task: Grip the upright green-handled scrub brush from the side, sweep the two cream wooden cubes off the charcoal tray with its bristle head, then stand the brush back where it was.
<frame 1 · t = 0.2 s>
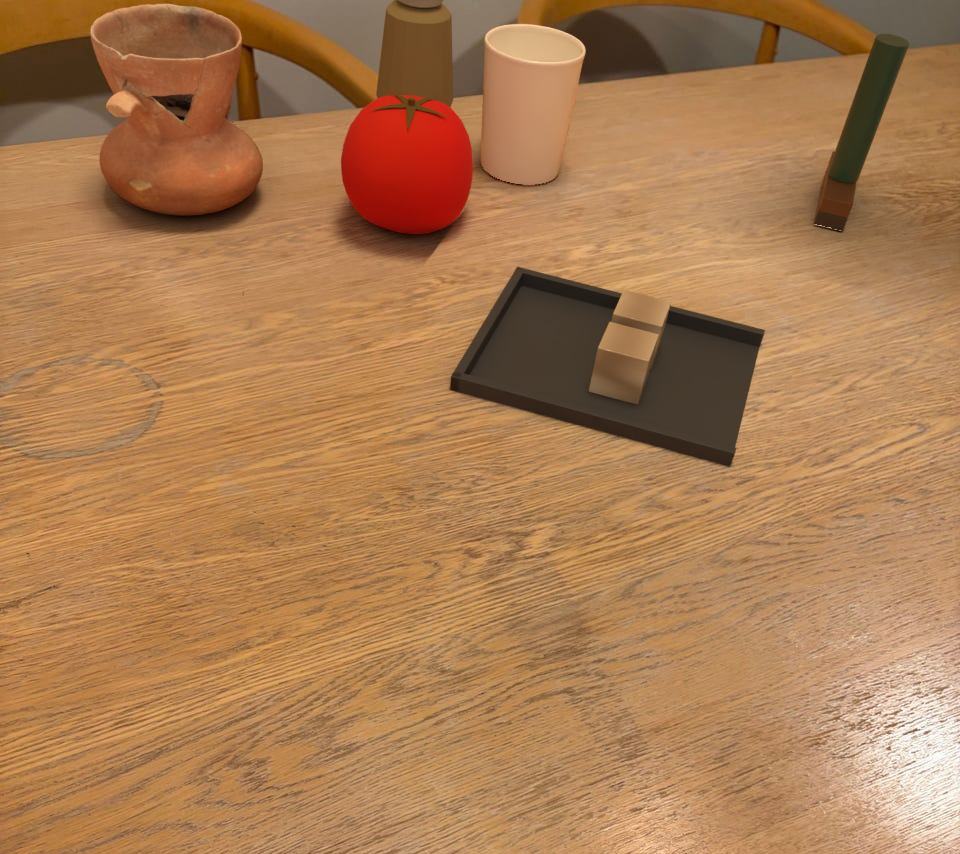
tomato: (405, 223, 97), on the table
tray: (610, 376, 84), on the table
cube a: (632, 350, 84), point 1 cm above the table, touching tray
cube b: (618, 384, 81), point 1 cm above the table, touching tray
pink cup: (519, 169, 107), on the table
squeeze bottle: (413, 134, 110), on the table
ceramic jug: (189, 194, 97), on the table
brush: (832, 204, 109), on the table
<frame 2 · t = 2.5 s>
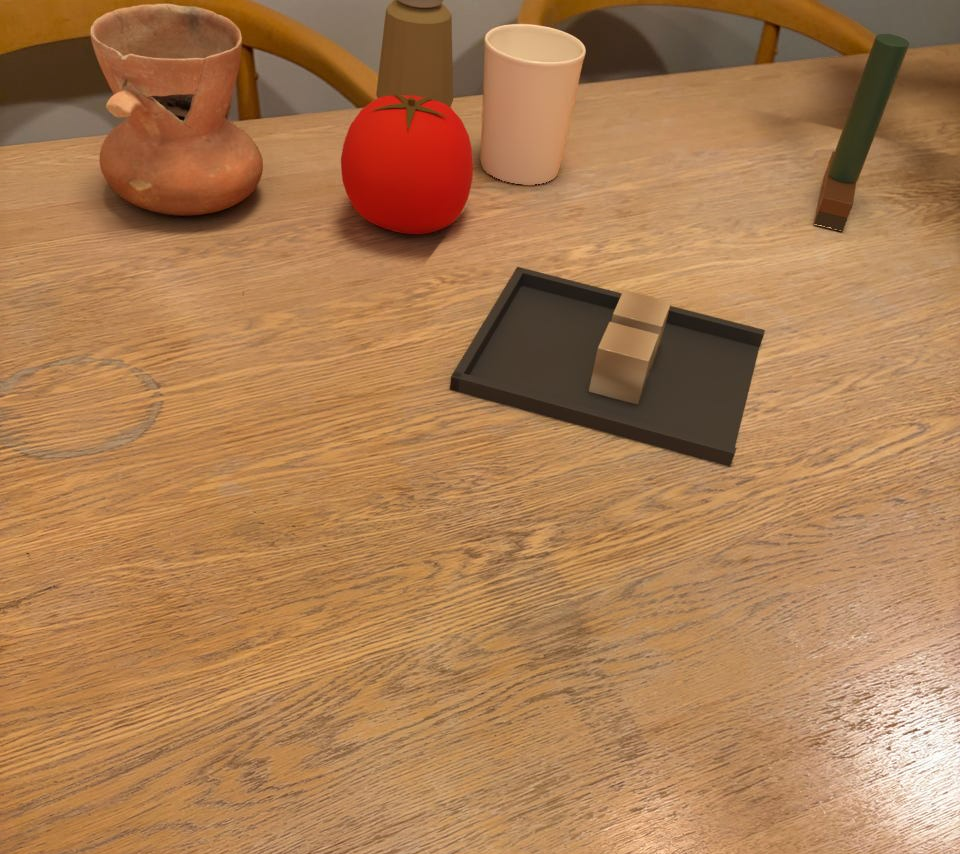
nothing on the table moved.
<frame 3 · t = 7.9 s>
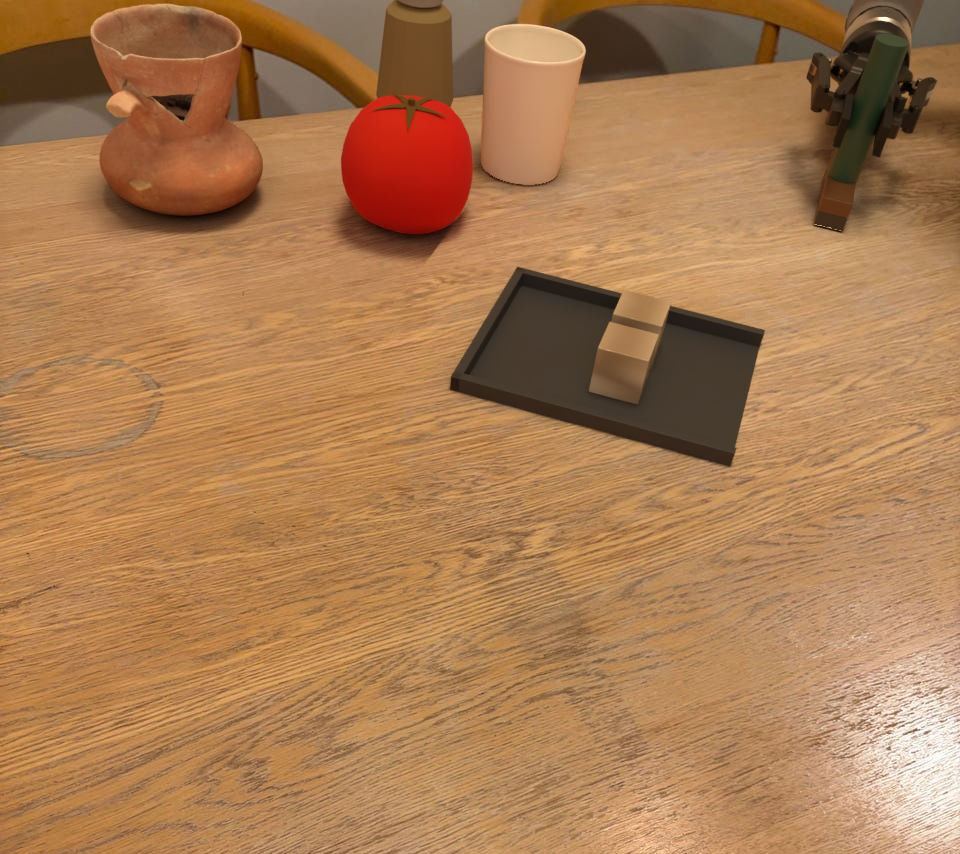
hand: (861, 137, 98), 9 cm above the table, tool horizontal, fingers closed on brush, 3 cm apart
brush: (832, 204, 109), on the table, touching gripper
everything else where it was.
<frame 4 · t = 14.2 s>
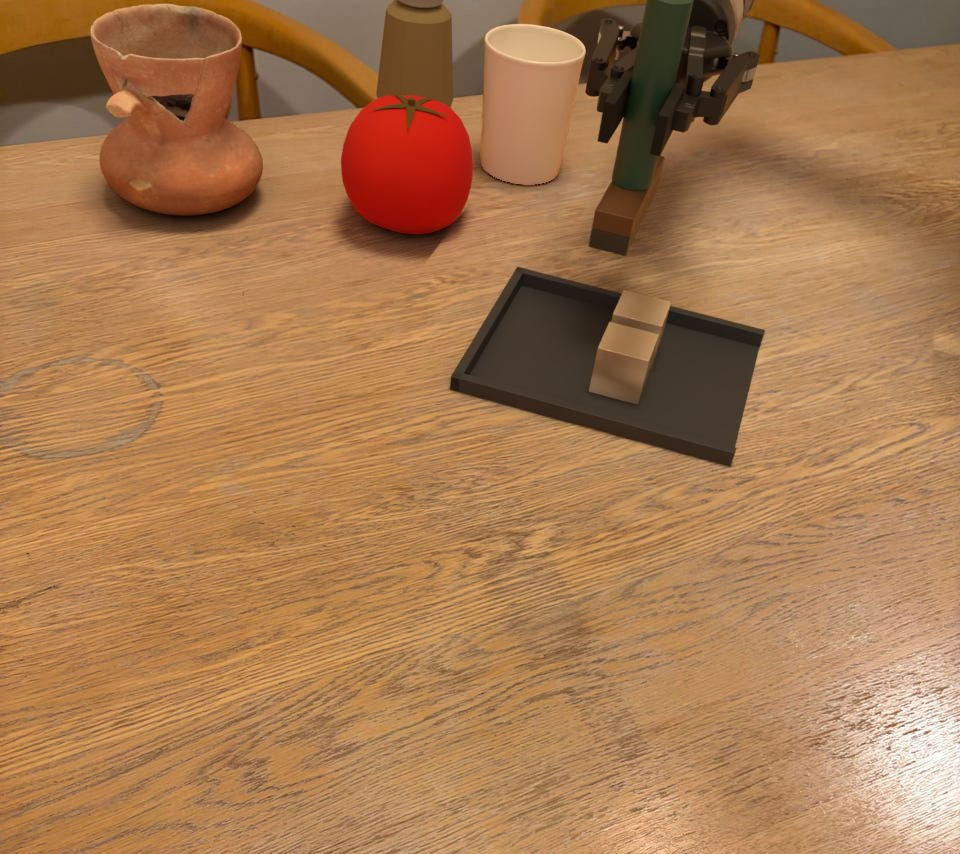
hand: (632, 129, 72), 18 cm above the table, tool horizontal, fingers closed on brush, 3 cm apart
brush: (624, 218, 83), point 9 cm above the table, touching gripper
everything else where it was.
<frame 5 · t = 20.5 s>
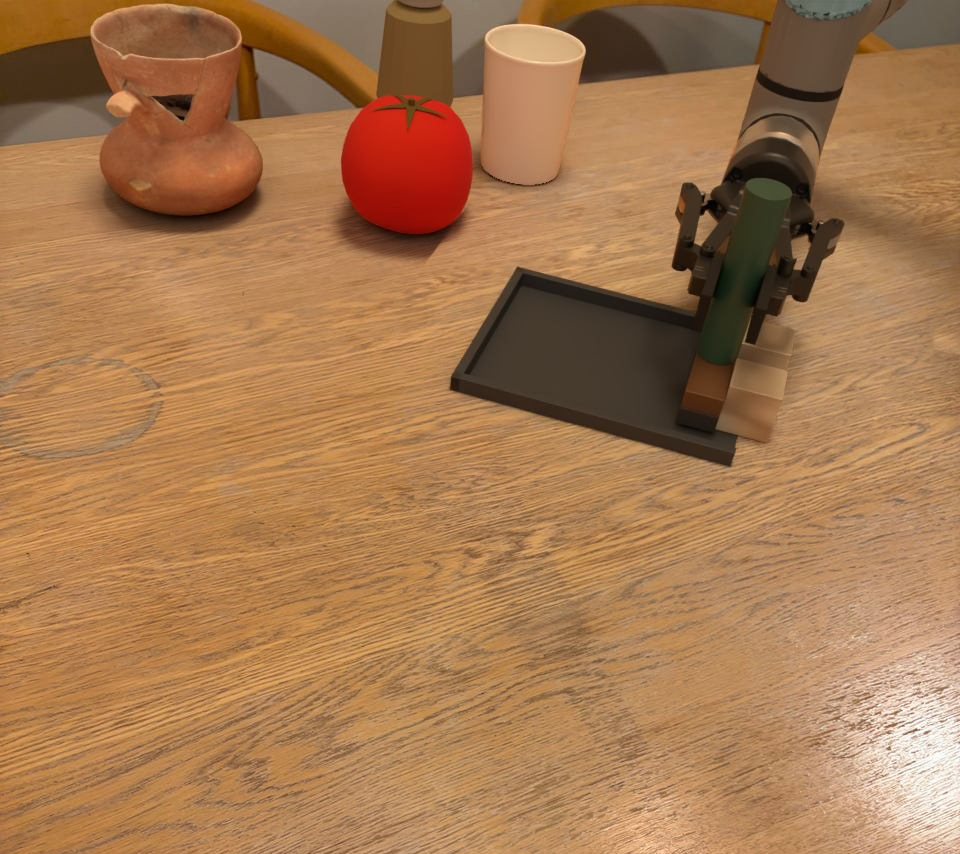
hand: (728, 319, 71), 11 cm above the table, tool horizontal, fingers closed on brush, 3 cm apart
cube a: (753, 379, 83), point 1 cm above the table, touching tray
cube b: (743, 421, 79), point 1 cm above the table, touching brush, tray
brush: (706, 385, 82), point 1 cm above the table, touching cube b, gripper
everything else where it was.
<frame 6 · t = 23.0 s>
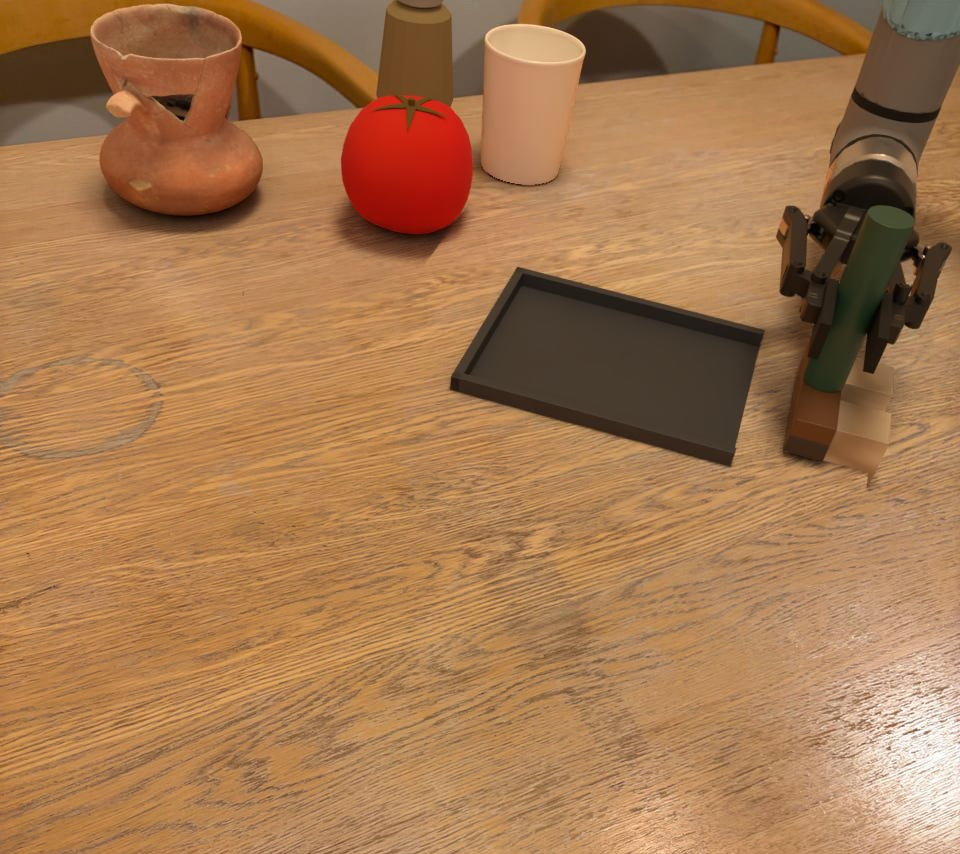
hand: (847, 348, 70), 11 cm above the table, tool horizontal, fingers closed on brush, 3 cm apart
cube a: (849, 415, 83), on the table, touching brush
cube b: (844, 463, 79), on the table, touching brush
brush: (809, 412, 80), point 2 cm above the table, touching cube a, cube b, gripper
everything else where it was.
when the fingers open (9 cm above the table, at t = 32.2 s): brush stays where it is, on the table.
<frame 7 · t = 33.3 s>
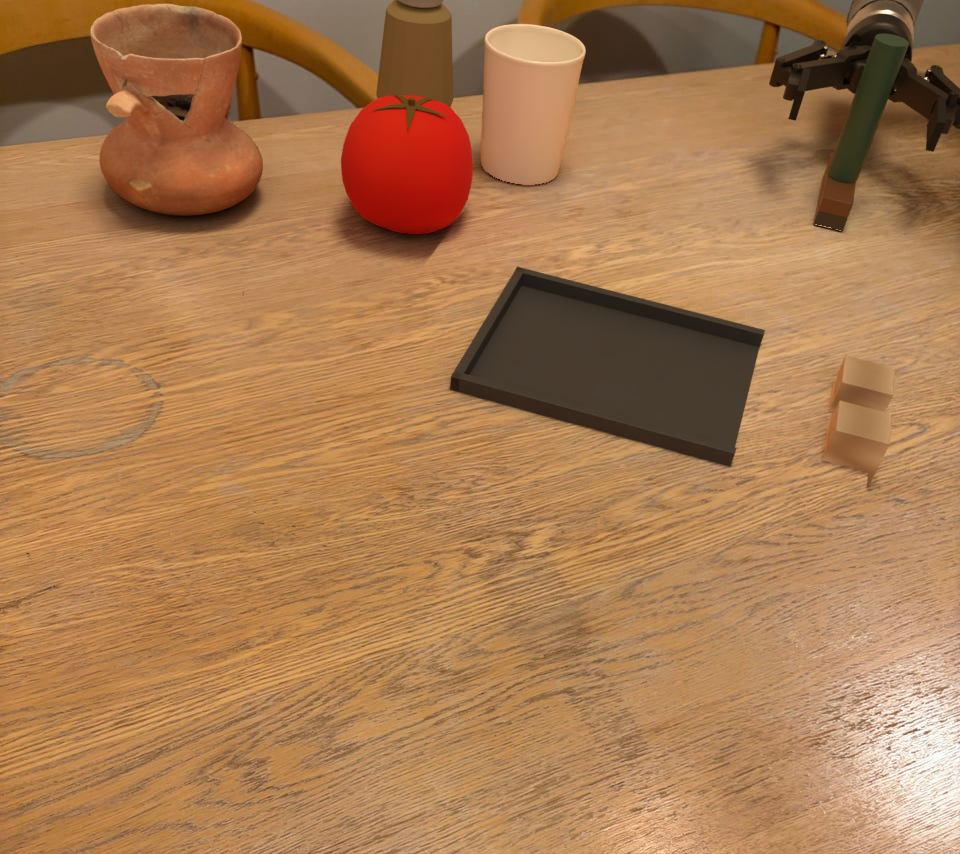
hand: (865, 121, 100), 10 cm above the table, tool horizontal, fingers open, 13 cm apart
cube a: (850, 416, 83), on the table
cube b: (844, 463, 79), on the table
brush: (832, 204, 109), on the table
everything else where it was.
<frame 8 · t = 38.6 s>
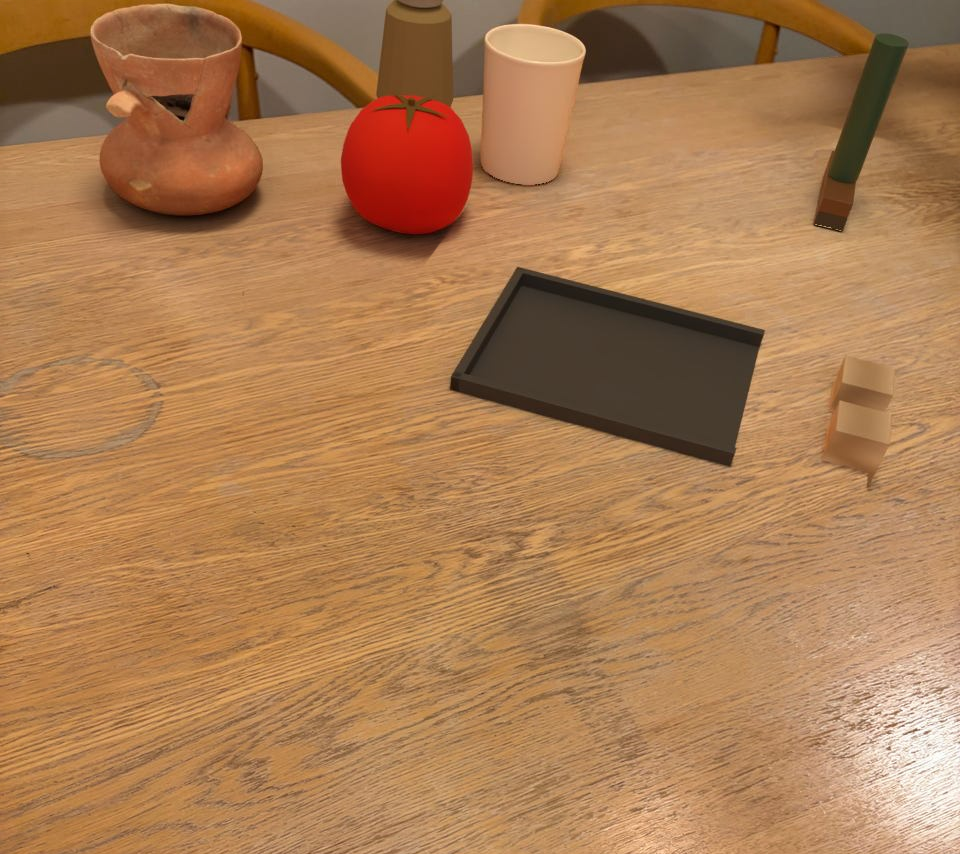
nothing on the table moved.
at the end: cube a touching table; cube b touching table; brush tilted 0° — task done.
